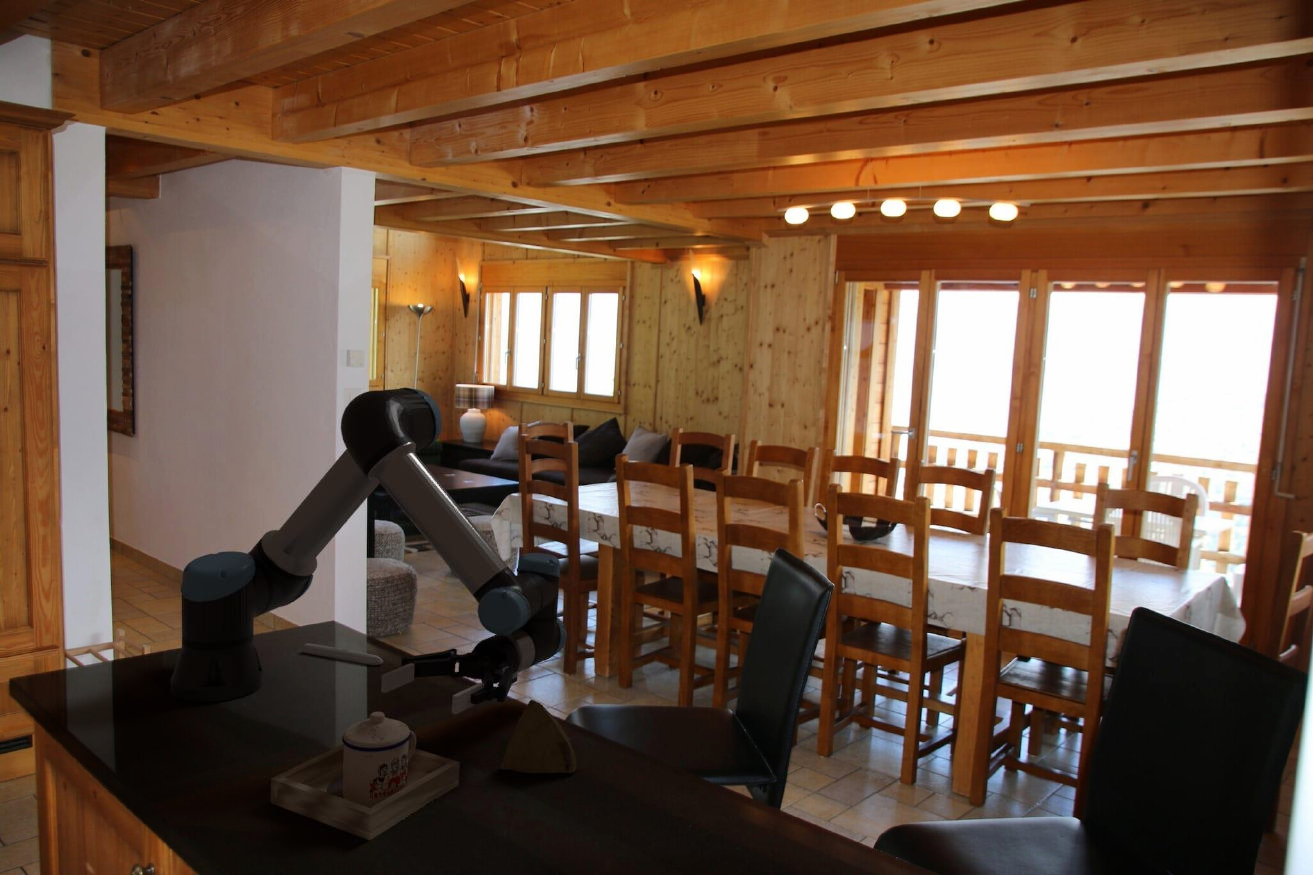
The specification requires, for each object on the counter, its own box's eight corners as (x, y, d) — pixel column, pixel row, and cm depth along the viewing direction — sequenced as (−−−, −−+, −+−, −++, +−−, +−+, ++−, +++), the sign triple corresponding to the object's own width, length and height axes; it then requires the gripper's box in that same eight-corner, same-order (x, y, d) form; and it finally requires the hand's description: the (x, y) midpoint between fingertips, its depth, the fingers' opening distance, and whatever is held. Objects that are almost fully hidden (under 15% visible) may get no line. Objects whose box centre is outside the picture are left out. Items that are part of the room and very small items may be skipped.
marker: (386, 665, 185) (386, 653, 184) (380, 668, 183) (380, 657, 182) (309, 651, 190) (309, 640, 190) (302, 654, 188) (302, 643, 188)
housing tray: (270, 802, 129) (271, 778, 128) (365, 754, 145) (366, 733, 144) (369, 840, 121) (370, 814, 120) (458, 785, 137) (459, 762, 137)
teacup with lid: (374, 817, 125) (376, 732, 123) (326, 797, 129) (328, 716, 128) (436, 782, 135) (439, 704, 134) (390, 765, 139) (392, 690, 138)
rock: (595, 751, 146) (549, 724, 151) (580, 720, 140) (532, 694, 146) (551, 809, 140) (505, 779, 146) (533, 779, 135) (486, 749, 140)
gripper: (563, 694, 154) (484, 739, 135) (443, 661, 165) (354, 698, 146) (566, 650, 153) (486, 689, 134) (445, 620, 164) (356, 652, 145)
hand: (417, 694), depth 140 cm, fingers open, 13 cm apart
